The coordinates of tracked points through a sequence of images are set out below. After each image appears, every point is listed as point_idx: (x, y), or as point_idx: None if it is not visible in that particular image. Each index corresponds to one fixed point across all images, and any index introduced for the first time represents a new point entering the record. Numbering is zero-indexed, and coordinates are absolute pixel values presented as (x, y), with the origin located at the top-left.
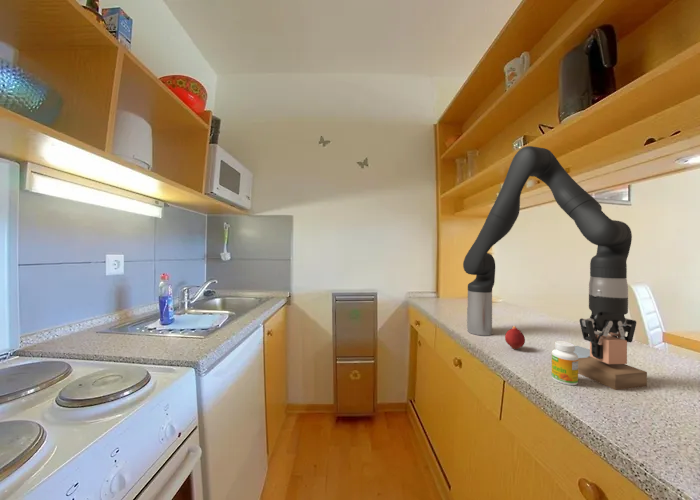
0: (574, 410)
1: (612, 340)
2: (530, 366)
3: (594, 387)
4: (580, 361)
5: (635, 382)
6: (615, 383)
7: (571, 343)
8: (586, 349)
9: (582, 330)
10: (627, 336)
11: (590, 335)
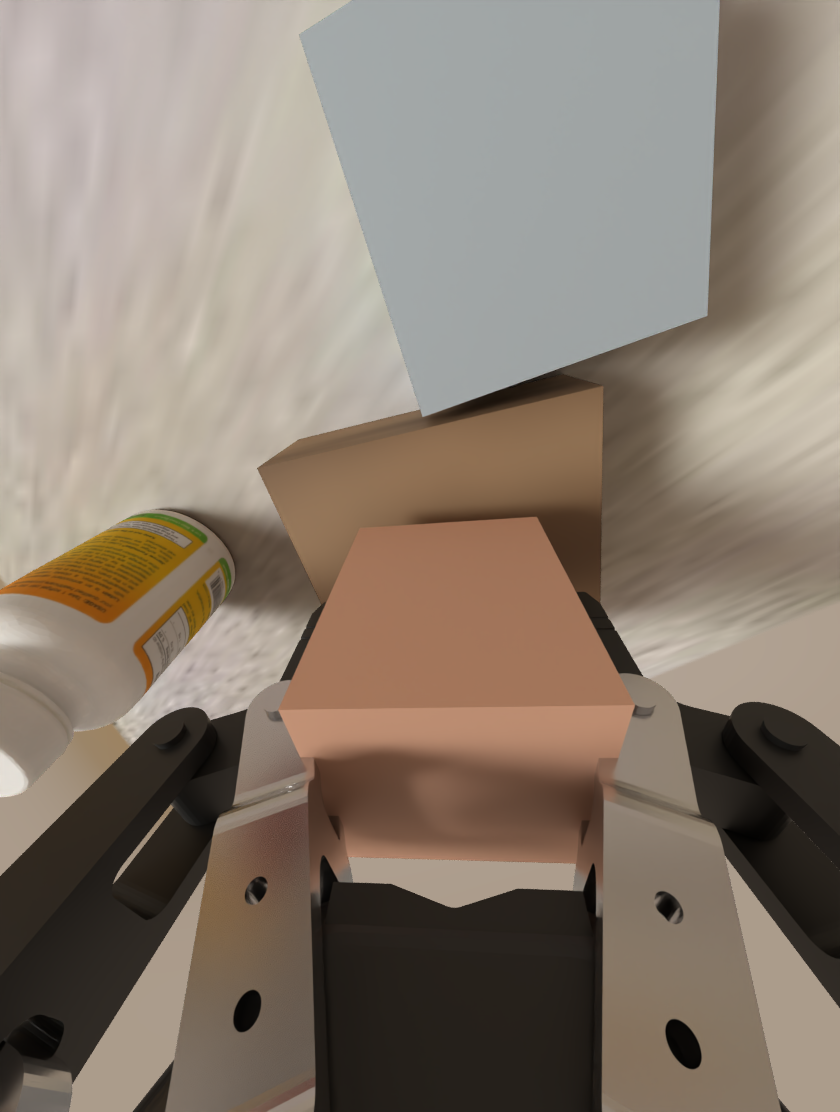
0: (137, 722)
1: (404, 852)
2: (15, 363)
3: (293, 612)
4: (282, 520)
5: None
6: None
7: (7, 758)
8: (656, 96)
9: (13, 883)
10: (743, 864)
11: (133, 882)
